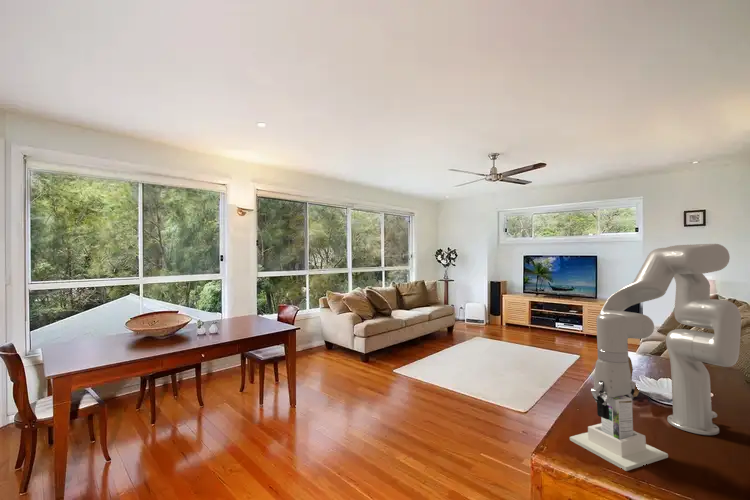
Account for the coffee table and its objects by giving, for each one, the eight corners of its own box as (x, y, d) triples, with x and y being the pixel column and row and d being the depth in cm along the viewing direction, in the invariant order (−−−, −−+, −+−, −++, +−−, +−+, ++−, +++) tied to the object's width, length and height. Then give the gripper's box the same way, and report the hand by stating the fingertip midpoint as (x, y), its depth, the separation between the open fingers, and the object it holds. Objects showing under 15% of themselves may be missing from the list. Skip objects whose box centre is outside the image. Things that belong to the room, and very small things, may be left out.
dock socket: (608, 430, 112) (607, 414, 112) (668, 457, 96) (667, 439, 97) (569, 440, 106) (569, 423, 107) (626, 471, 91) (625, 451, 91)
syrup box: (601, 440, 104) (599, 391, 104) (618, 438, 105) (616, 390, 105) (616, 450, 98) (614, 399, 99) (635, 448, 99) (632, 397, 100)
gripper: (620, 350, 109) (622, 405, 108) (579, 356, 103) (582, 414, 102) (645, 356, 102) (648, 414, 101) (604, 363, 96) (606, 425, 95)
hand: (615, 414), depth 102 cm, fingers open, 9 cm apart
